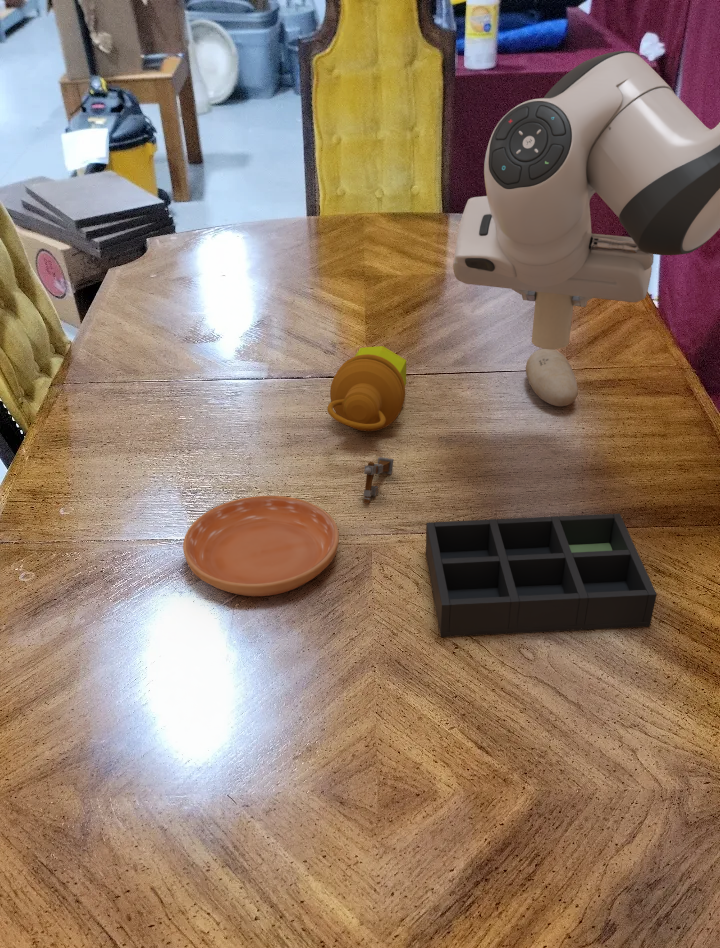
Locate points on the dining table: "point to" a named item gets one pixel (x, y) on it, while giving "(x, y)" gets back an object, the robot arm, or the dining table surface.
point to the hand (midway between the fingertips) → (555, 297)
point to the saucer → (261, 545)
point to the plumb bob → (369, 389)
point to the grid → (536, 575)
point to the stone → (552, 377)
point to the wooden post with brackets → (382, 467)
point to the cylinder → (552, 320)
